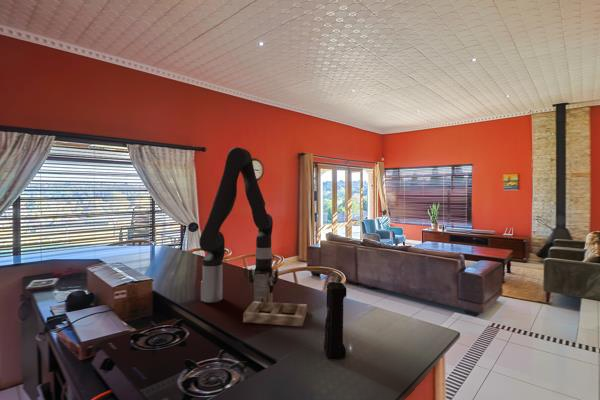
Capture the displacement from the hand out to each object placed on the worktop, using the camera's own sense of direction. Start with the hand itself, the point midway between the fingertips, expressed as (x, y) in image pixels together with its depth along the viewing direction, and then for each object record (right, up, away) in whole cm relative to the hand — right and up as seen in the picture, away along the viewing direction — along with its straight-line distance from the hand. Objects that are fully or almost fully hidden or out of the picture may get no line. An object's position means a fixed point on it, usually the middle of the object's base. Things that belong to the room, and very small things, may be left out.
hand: (263, 292), depth 142 cm
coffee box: (0, -6, 0) cm, 6 cm away
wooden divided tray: (+7, -6, -14) cm, 17 cm away
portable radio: (+28, -7, -42) cm, 51 cm away
